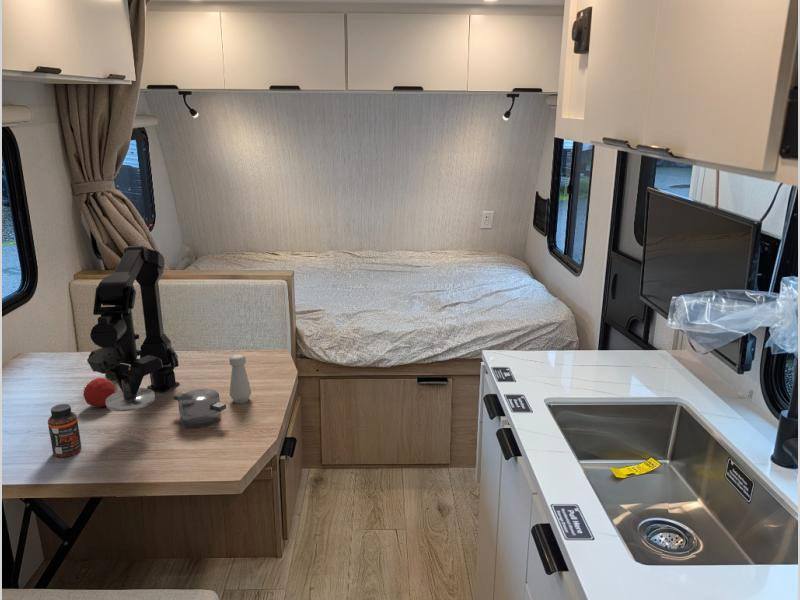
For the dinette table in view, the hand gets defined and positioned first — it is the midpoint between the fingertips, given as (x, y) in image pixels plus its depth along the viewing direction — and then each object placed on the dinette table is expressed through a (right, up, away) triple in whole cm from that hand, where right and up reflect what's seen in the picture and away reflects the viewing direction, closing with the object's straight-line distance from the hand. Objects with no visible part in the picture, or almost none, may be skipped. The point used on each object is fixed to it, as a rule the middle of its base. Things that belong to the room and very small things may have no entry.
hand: (129, 393), depth 150 cm
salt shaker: (+22, -5, +19) cm, 30 cm away
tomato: (-15, -6, +17) cm, 23 cm away
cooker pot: (+14, -8, +9) cm, 19 cm away
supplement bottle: (-12, -13, -6) cm, 18 cm away
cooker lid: (0, -2, +1) cm, 2 cm away
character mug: (-19, -1, +35) cm, 40 cm away
